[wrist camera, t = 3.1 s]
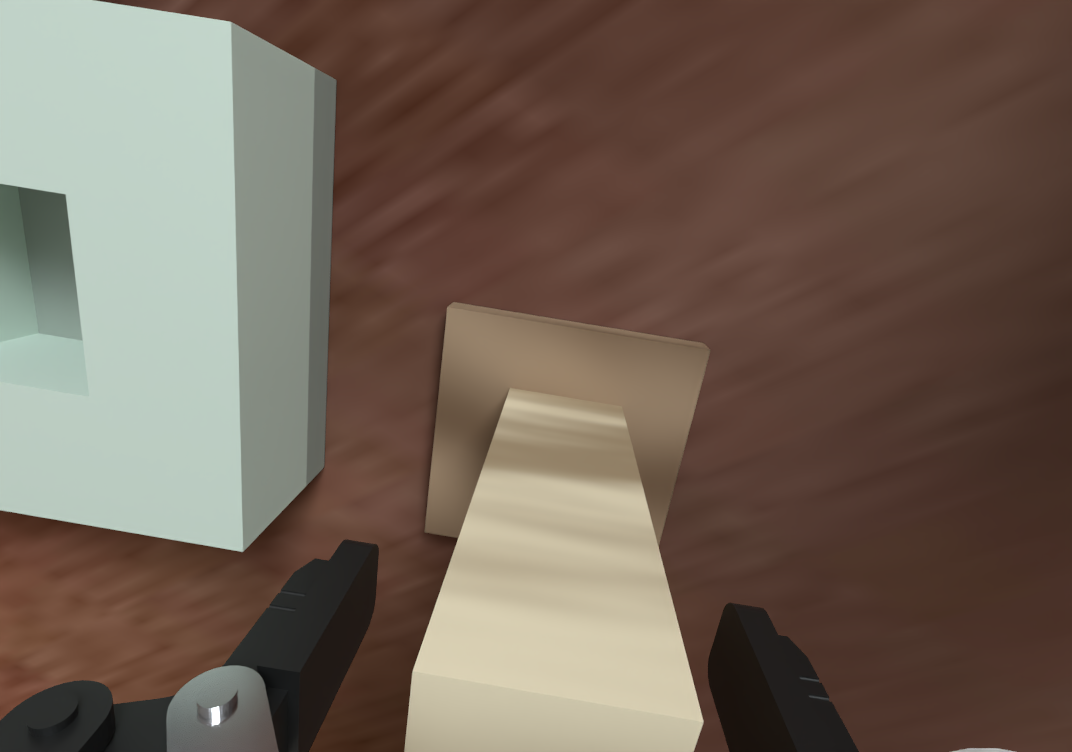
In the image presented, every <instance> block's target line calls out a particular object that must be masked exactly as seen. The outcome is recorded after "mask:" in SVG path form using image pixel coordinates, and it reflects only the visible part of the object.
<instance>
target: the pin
mask: <svg viewBox="0 0 1072 752" xmlns="http://www.w3.org/2000/svg"><path fill="white" fill-rule="evenodd" d="M702 725H703V718H702V714H701V710H700V706H699V702H698V699H697V695H696V691H695V687H694V683H693V679H692V675H691V671H690V668H689V664H688V660H687V656H686V652H685V648H684V644H683V640H682V637H681V633H680V629H679V625H678V621H677V617H676V613H675V609H674V606H673V602H672V598H671V594H670V590H669V586H668V582H667V578H666V575H665V571H664V567H663V563H662V559H661V555H660V551H659V548H658V544H657V540H656V536H655V532H654V528H653V524H652V520H651V517H650V513H649V509H648V505H647V501H646V497H645V493H644V489H643V486H642V482H641V478H640V474H639V470H638V466H637V462H636V458H635V455H634V451H633V447H632V443H631V439H630V435H629V431H628V427H627V424H626V420H625V416H624V412H623V408H622V406H616V405H610V404H604V403H598V402H592V401H586V400H580V399H574V398H568V397H562V396H556V395H550V394H544V393H538V392H532V391H526V390H520V389H514V388H510V389H509V392H508V395H507V398H506V401H505V404H504V407H503V410H502V413H501V416H500V418H499V421H498V424H497V427H496V430H495V433H494V436H493V439H492V442H491V445H490V448H489V450H488V453H487V456H486V459H485V462H484V465H483V468H482V471H481V474H480V477H479V480H478V482H477V485H476V488H475V491H474V494H473V497H472V500H471V503H470V506H469V509H468V512H467V514H466V517H465V520H464V523H463V526H462V529H461V532H460V535H459V538H458V541H457V544H456V546H455V549H454V552H453V555H452V558H451V561H450V564H449V567H448V570H447V573H446V576H445V578H444V581H443V584H442V587H441V590H440V593H439V596H438V599H437V602H436V605H435V608H434V610H433V613H432V616H431V619H430V622H429V625H428V628H427V631H426V634H425V637H424V640H423V642H422V645H421V648H420V651H419V654H418V657H417V660H416V663H415V666H414V669H413V672H412V682H411V692H410V701H409V711H408V720H407V730H406V740H405V749H404V752H694V749H695V746H696V743H697V740H698V737H699V734H700V731H701V728H702Z"/></svg>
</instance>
